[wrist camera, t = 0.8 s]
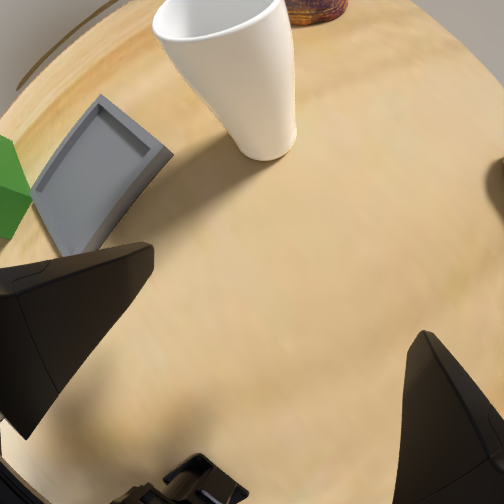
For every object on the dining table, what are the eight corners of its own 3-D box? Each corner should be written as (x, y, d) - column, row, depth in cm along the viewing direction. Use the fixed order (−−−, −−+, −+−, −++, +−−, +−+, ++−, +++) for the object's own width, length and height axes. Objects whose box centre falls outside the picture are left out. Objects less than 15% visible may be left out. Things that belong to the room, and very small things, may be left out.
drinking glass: (254, 186, 24) (177, 65, 10) (216, 132, 26) (134, 15, 11) (321, 143, 23) (314, -3, 9) (277, 94, 25) (238, -38, 10)
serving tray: (83, 271, 27) (70, 269, 25) (39, 196, 30) (29, 192, 28) (173, 154, 26) (164, 145, 24) (109, 101, 30) (100, 93, 28)
